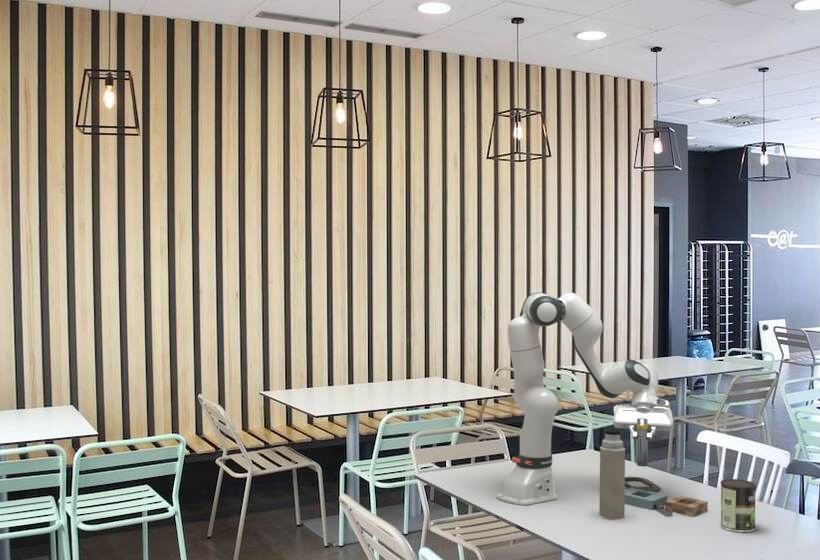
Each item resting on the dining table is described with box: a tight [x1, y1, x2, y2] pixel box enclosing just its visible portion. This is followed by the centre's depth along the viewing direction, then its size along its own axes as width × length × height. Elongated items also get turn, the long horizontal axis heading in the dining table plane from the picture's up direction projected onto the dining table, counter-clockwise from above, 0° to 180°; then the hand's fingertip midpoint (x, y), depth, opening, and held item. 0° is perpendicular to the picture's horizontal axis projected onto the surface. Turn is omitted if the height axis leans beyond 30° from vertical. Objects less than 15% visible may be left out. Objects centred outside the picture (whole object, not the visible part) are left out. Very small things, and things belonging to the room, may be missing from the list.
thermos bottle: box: [599, 429, 626, 520], centre depth 278 cm, size 8×8×28 cm
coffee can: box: [720, 478, 757, 533], centre depth 266 cm, size 10×10×14 cm
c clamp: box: [625, 476, 661, 492], centre depth 314 cm, size 20×17×3 cm
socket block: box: [664, 495, 709, 518], centre depth 284 cm, size 10×10×3 cm
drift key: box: [653, 504, 673, 518], centre depth 282 cm, size 8×2×2 cm, turn 14°
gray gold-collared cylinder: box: [636, 418, 649, 468], centre depth 292 cm, size 4×4×16 cm
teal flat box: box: [625, 488, 669, 511], centre depth 293 cm, size 10×14×3 cm
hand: (642, 438), depth 292 cm, fingers closed on gray gold-collared cylinder, 4 cm apart
